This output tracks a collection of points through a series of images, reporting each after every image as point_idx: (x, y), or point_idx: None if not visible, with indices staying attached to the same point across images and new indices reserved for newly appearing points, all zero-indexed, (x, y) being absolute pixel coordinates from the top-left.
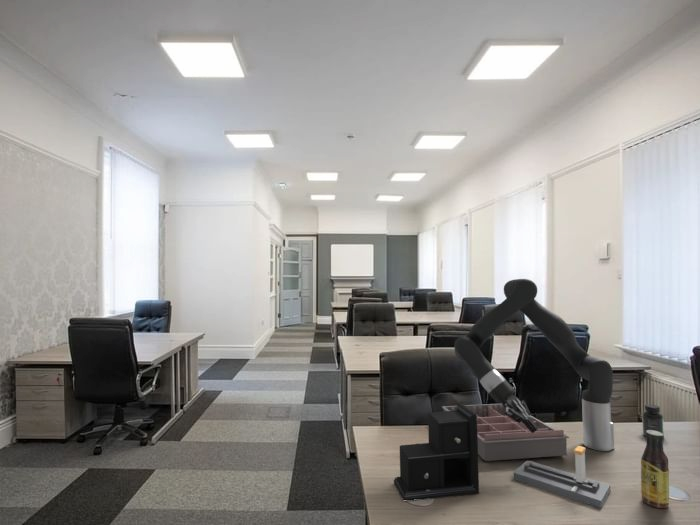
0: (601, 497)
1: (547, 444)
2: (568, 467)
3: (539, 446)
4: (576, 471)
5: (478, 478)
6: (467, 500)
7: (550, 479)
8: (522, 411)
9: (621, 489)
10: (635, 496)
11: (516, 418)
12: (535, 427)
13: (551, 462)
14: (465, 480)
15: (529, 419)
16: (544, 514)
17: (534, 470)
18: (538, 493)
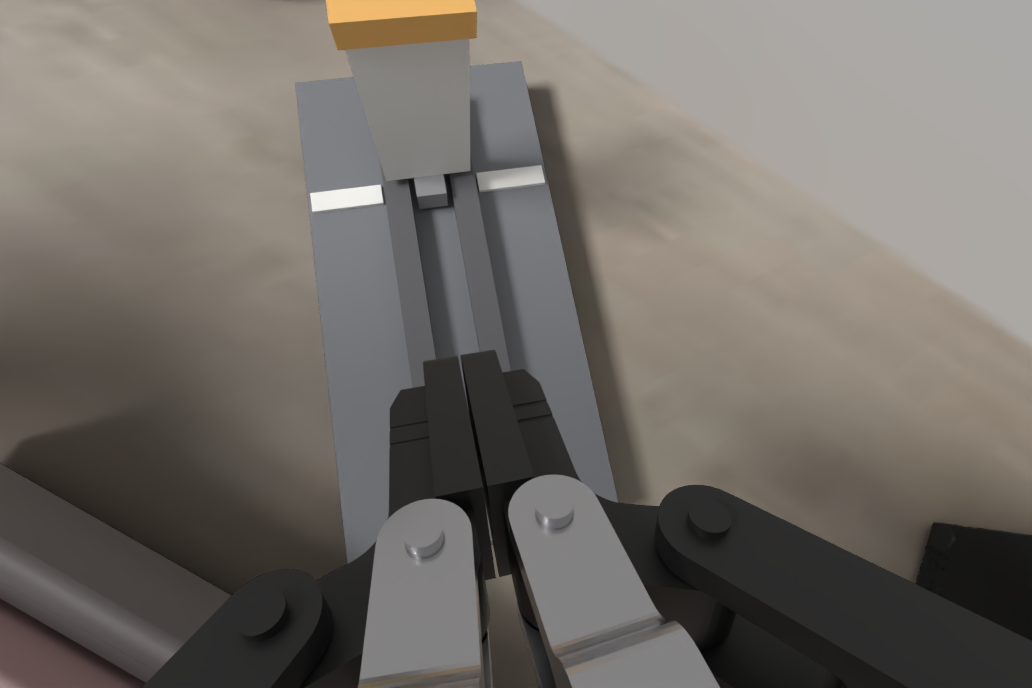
0: (485, 69)
1: (28, 542)
2: (151, 372)
3: (113, 583)
4: (469, 128)
5: (1025, 535)
6: (1024, 519)
7: (511, 311)
8: (663, 649)
9: (233, 83)
10: (263, 25)
11: (749, 670)
12: (491, 362)
13: (153, 486)
14: None
15: (488, 476)
16: (784, 219)
17: None
18: (638, 326)
